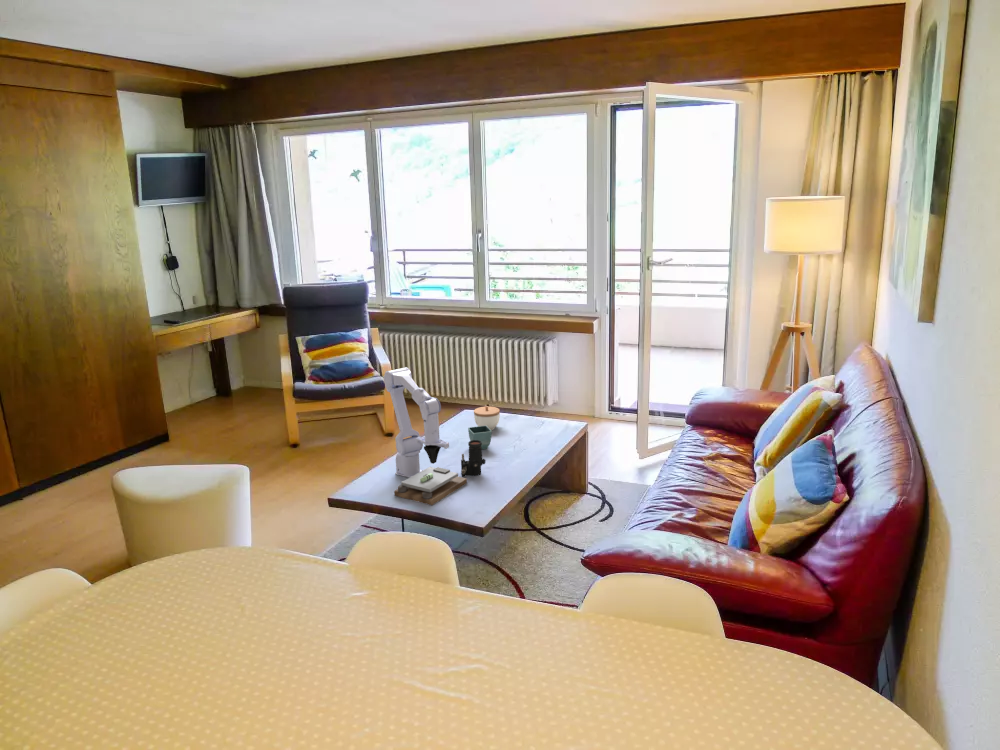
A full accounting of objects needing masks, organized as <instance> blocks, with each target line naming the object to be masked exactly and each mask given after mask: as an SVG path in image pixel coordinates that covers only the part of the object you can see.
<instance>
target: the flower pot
mask: <svg viewBox="0 0 1000 750" xmlns="http://www.w3.org/2000/svg"><path fill="white" fill-rule="evenodd" d="M467 431H468V437H469V441H472V440H479V441H481V442H482V445H481V447H482V450H488V449H489V446H490V445H491V441H492V432H493V431H492V430H490V429H489V428H488V427H487V426H477V425H476V426H471V427H468V428H467Z"/></svg>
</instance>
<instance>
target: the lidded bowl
mask: <svg viewBox="0 0 1000 750" xmlns="http://www.w3.org/2000/svg"><path fill="white" fill-rule="evenodd" d="M500 413H501V410H500V408H499V407H496V406H488V405H485V406H481V407H476V408H475V409H474V410H473V416H474V417H473V418H474V421H475V424H476V427H477V426H487V427H488V428H489V429H490V430H491V431H492V430H495V428H496V427H497V426H498V424H499V423H500V416H501V415H500Z"/></svg>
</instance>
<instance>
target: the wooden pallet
mask: <svg viewBox="0 0 1000 750" xmlns="http://www.w3.org/2000/svg"><path fill="white" fill-rule="evenodd" d="M467 484H468V478H465V477H462V476H458V477H456V478H454V479H452V480H451V481H449V482H447V483H446V484H444V485H442V486H440V487H439V488H437V489H435V490H434V491H432V492H426V491H422V490H418V489H415V488H411V487H407V486H403V485H401V484H399V485H397V489H395V490H394V491H393V492H394V496H395V497H399V498H403V499H406V500H409V501H412V502H413V501H414V502H417V503H422V504H425V505H429V506H433V505H435V504H437V503H438V502H440V501H441V500H444V498H447V496H450V495H451V494H452V493H454V492H455V491H457V490H459V489H460V488H463V486H465V485H467Z"/></svg>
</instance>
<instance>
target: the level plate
mask: <svg viewBox="0 0 1000 750" xmlns="http://www.w3.org/2000/svg"><path fill="white" fill-rule="evenodd" d="M422 470H423V471H421V472H419V473H417V474H416V475H414V476H412V477H410V478H409V477H407V478H406V479H405V480H402V481H401V482H400V485H403V486H407V487H411V488H415V489H418V490H422V491H426V492H432V491H434V490H435V489H437V488H439V487H440V486H442V485H444V484H446V483H447V482H449V481H451V480H452V479H454V478H456V477H459V473H458V472H454V471H451V470H450V469H448V468H443V467H439V466H438V467H433V466H429V467H427V468H425V469H422Z"/></svg>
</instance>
